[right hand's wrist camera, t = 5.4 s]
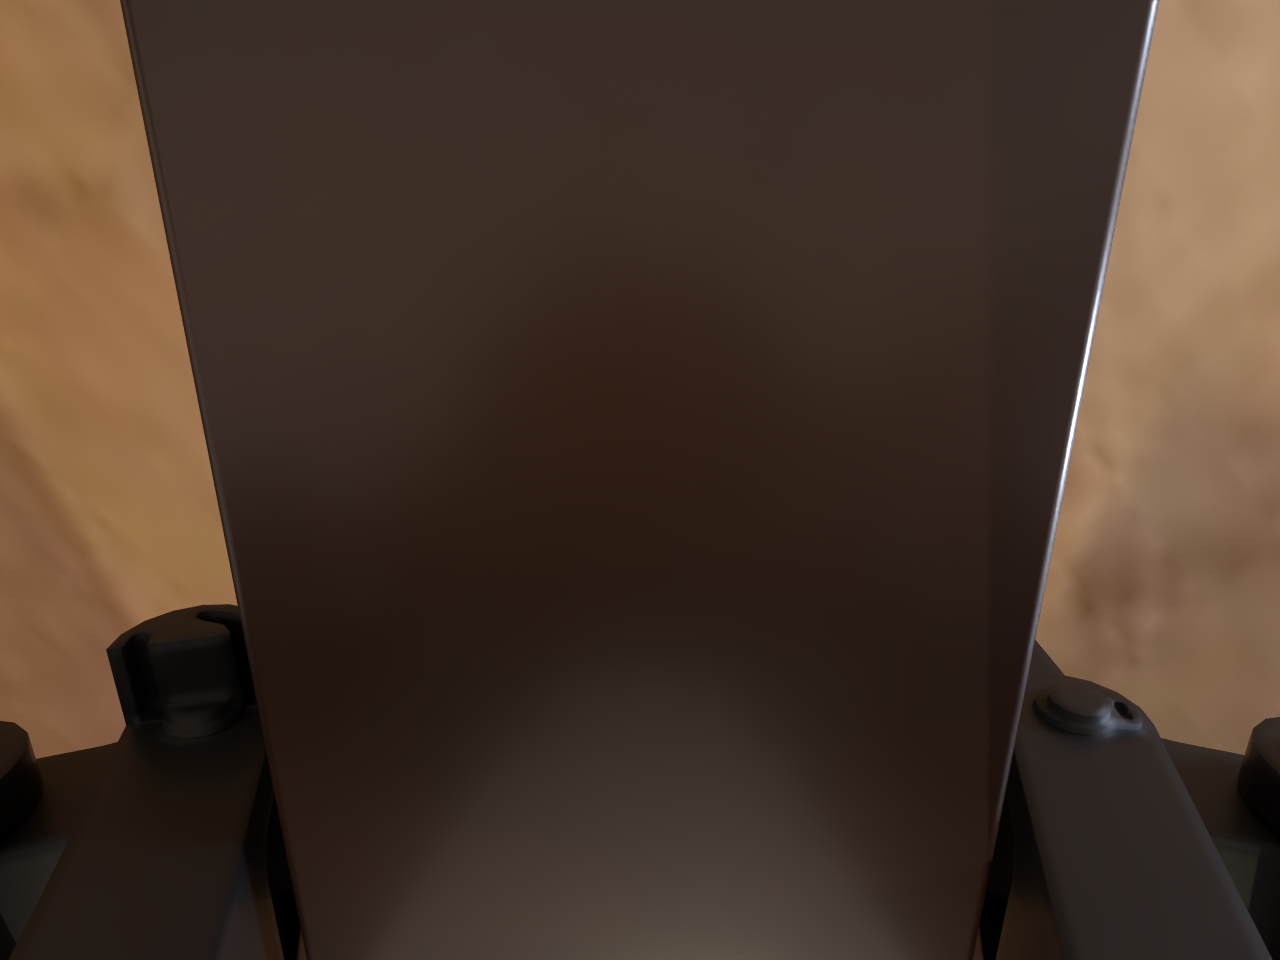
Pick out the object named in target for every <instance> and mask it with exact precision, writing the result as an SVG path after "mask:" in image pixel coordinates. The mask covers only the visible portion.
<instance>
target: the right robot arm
mask: <svg viewBox="0 0 1280 960" xmlns="http://www.w3.org/2000/svg"><path fill="white" fill-rule="evenodd" d="M106 651H107V655H108V658H109V662H110V666H111V670H112V673H113V677H114V681H115V685H116V688H117V692H118V696H119V700H120V704H121V707H122V711H123V715H124V719H125V722H126V727H125V729H124V731H123V733H122V735H121V737H120V739H119V741H118V742H116V743H112V744H108V745H104V746H100V747H95V748H90V749H85V750H79V751H74V752H69V753H64V754H59V755H54V756H49V757H44V758H39V759H36V758H35V755H34V752H33V749H32V745H31V742H30V739H29V736H28V733H27V732H26V731H25V730H24V729H22V728H21V727H20V726H18V725H17V724H16V723H12V722H5V721H0V960H307V958H306V953H305V948H304V943H303V938H302V932H301V927H300V922H299V917H298V912H297V907H296V902H295V896H294V891H293V886H292V881H291V876H290V871H289V866H288V861H287V855H286V850H285V845H284V840H283V835H282V830H281V825H280V819H279V814H278V809H277V804H276V799H275V794H274V789H273V783H272V778H271V773H270V768H269V763H268V758H267V753H266V747H265V742H264V737H263V732H262V727H261V722H260V717H259V711H258V706H257V701H256V696H255V691H254V686H253V681H252V675H251V670H250V665H249V660H248V655H247V650H246V645H245V639H244V634H243V629H242V624H241V619H240V614H239V609H238V606H235V605H230V604H226V605H201V606H196V607H191V608H185V609H180V610H175V611H171V612H169V613H166V614H163V615H160V616H157V617H155V618H152V619H149V620H146V621H144V622H142V623H140V624H139V625H137V626H135V627H133V628H132V629H130V630H128V631H126V632H125V633H123V634H121V635H120V636H119V637H118V638H117V639H116V640H115V641H114V642H113V643H112V644H111V645H110V646H109V647H108V648H107V649H106ZM973 960H1280V717H1276V718H1269V719H1265V720H1264V721H1262V722H1261V723H1260V724H1258V725H1257V726H1256V727H1254V728H1253V730H1252V733H1251V737H1250V740H1249V743H1248V746H1247V749H1246V752H1245V755H1240V754H1235V753H1230V752H1225V751H1220V750H1215V749H1210V748H1204V747H1199V746H1194V745H1189V744H1184V743H1179V742H1175V741H1171V740H1167V739H1163V738H1160V736H1159V734H1158V732H1157V730H1156V728H1155V726H1154V724H1153V723H1152V722H1151V720H1150V719H1149V718H1148V717H1147V716H1146V714H1145V713H1144V712H1143V711H1142V709H1141V708H1140V707H1138V706H1137V705H1135V704H1134V703H1132V702H1131V701H1129V700H1128V699H1126V698H1125V697H1123V696H1122V695H1120V694H1119V693H1117V692H1115V691H1112V690H1110V689H1108V688H1105V687H1103V686H1100V685H1098V684H1096V683H1093V682H1091V681H1087V680H1082V679H1078V678H1073V677H1069V676H1065V675H1064V674H1063V673H1062V671H1061V670H1060V669H1059V668H1058V667H1057V665H1056V664H1055V663H1054V662H1053V661H1052V659H1051V658H1050V657H1049V656H1048V655H1047V653H1046V652H1045V651H1044V650H1043V649H1042V647H1041V646H1040V645H1039V644H1038V643H1037V641H1036V640H1035V642H1034V647H1033V652H1032V657H1031V662H1030V667H1029V673H1028V678H1027V683H1026V688H1025V693H1024V698H1023V703H1022V709H1021V714H1020V719H1019V724H1018V729H1017V734H1016V740H1015V745H1014V750H1013V755H1012V760H1011V765H1010V770H1009V776H1008V781H1007V786H1006V791H1005V796H1004V801H1003V806H1002V812H1001V817H1000V822H999V827H998V832H997V837H996V843H995V848H994V853H993V858H992V863H991V868H990V873H989V879H988V884H987V889H986V894H985V899H984V904H983V909H982V915H981V920H980V925H979V930H978V935H977V940H976V946H975V951H974V956H973Z"/></svg>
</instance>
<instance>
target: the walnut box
mask: <svg viewBox="0 0 1280 960" xmlns="http://www.w3.org/2000/svg"><path fill="white" fill-rule="evenodd" d="M120 2H121V7H122V12H123V17H124V23H125V28H126V33H127V38H128V43H129V48H130V53H131V59H132V64H133V69H134V74H135V79H136V84H137V89H138V95H139V100H140V105H141V110H142V115H143V120H144V125H145V131H146V136H147V141H148V146H149V151H150V156H151V161H152V166H153V172H154V177H155V182H156V187H157V192H158V197H159V202H160V208H161V213H162V218H163V223H164V228H165V233H166V238H167V244H168V249H169V254H170V259H171V264H172V269H173V274H174V280H175V285H176V290H177V295H178V300H179V305H180V310H181V316H182V321H183V326H184V331H185V336H186V341H187V346H188V352H189V357H190V362H191V367H192V372H193V377H194V382H195V388H196V393H197V398H198V403H199V408H200V413H201V418H202V424H203V429H204V434H205V439H206V444H207V449H208V454H209V460H210V465H211V470H212V475H213V480H214V485H215V490H216V496H217V501H218V506H219V511H220V516H221V521H222V526H223V531H224V537H225V542H226V547H227V552H228V557H229V562H230V567H231V573H232V578H233V583H234V588H235V593H236V598H237V603H238V609H239V614H240V619H241V624H242V629H243V634H244V639H245V645H246V650H247V655H248V660H249V665H250V670H251V675H252V681H253V686H254V691H255V696H256V701H257V706H258V711H259V717H260V722H261V727H262V732H263V737H264V742H265V747H266V753H267V758H268V763H269V768H270V773H271V778H272V783H273V789H274V794H275V799H276V804H277V809H278V814H279V819H280V825H281V830H282V835H283V840H284V845H285V850H286V855H287V861H288V866H289V871H290V876H291V881H292V886H293V891H294V896H295V902H296V907H297V912H298V917H299V922H300V927H301V932H302V938H303V943H304V948H305V953H306V958H307V960H973V956H974V951H975V946H976V940H977V935H978V930H979V925H980V920H981V915H982V909H983V904H984V899H985V894H986V889H987V884H988V879H989V873H990V868H991V863H992V858H993V853H994V848H995V843H996V837H997V832H998V827H999V822H1000V817H1001V812H1002V806H1003V801H1004V796H1005V791H1006V786H1007V781H1008V776H1009V770H1010V765H1011V760H1012V755H1013V750H1014V745H1015V740H1016V734H1017V729H1018V724H1019V719H1020V714H1021V709H1022V703H1023V698H1024V693H1025V688H1026V683H1027V678H1028V673H1029V667H1030V662H1031V657H1032V652H1033V647H1034V642H1035V637H1036V631H1037V626H1038V621H1039V616H1040V611H1041V606H1042V600H1043V595H1044V590H1045V585H1046V580H1047V575H1048V570H1049V564H1050V559H1051V554H1052V549H1053V544H1054V539H1055V534H1056V528H1057V523H1058V518H1059V513H1060V508H1061V503H1062V497H1063V492H1064V487H1065V482H1066V477H1067V472H1068V467H1069V461H1070V456H1071V451H1072V446H1073V441H1074V436H1075V431H1076V425H1077V420H1078V415H1079V410H1080V405H1081V400H1082V394H1083V389H1084V384H1085V379H1086V374H1087V369H1088V364H1089V358H1090V353H1091V348H1092V343H1093V338H1094V333H1095V328H1096V322H1097V317H1098V312H1099V307H1100V302H1101V297H1102V291H1103V286H1104V281H1105V276H1106V271H1107V266H1108V261H1109V255H1110V250H1111V245H1112V240H1113V235H1114V230H1115V225H1116V219H1117V214H1118V209H1119V204H1120V199H1121V194H1122V188H1123V183H1124V178H1125V173H1126V168H1127V163H1128V158H1129V152H1130V147H1131V142H1132V137H1133V132H1134V127H1135V122H1136V116H1137V111H1138V106H1139V101H1140V96H1141V91H1142V85H1143V80H1144V75H1145V70H1146V65H1147V60H1148V55H1149V49H1150V44H1151V39H1152V34H1153V29H1154V24H1155V19H1156V13H1157V8H1158V3H1159V0H120Z"/></svg>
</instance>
